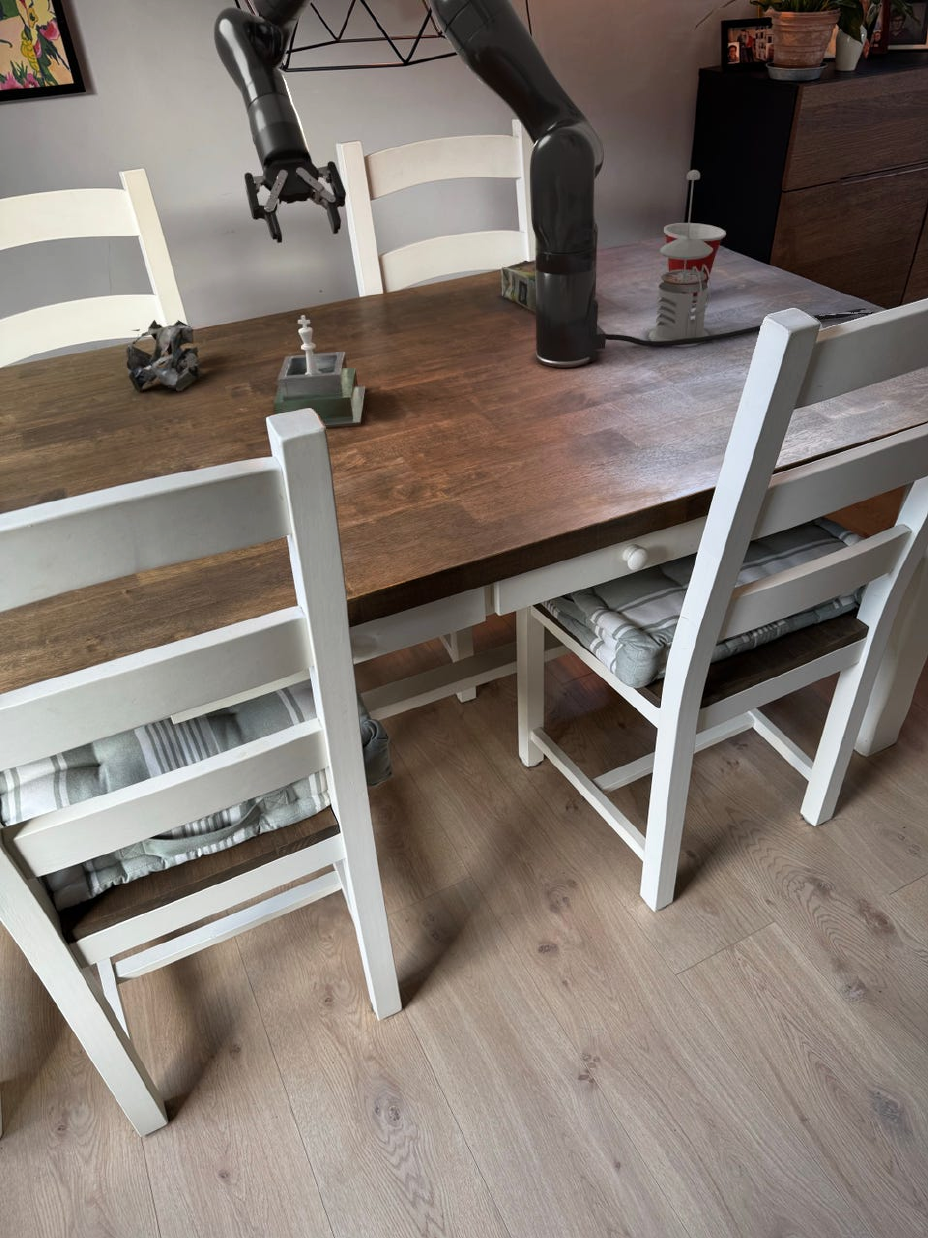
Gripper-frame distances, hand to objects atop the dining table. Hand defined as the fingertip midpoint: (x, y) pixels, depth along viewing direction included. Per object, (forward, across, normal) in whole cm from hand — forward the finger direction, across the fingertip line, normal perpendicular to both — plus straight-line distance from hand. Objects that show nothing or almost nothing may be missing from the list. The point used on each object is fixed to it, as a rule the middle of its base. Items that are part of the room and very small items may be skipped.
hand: (308, 235), depth 127 cm
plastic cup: (+13, +68, +17) cm, 72 cm away
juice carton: (+6, +44, +24) cm, 51 cm away
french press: (+26, +56, +5) cm, 62 cm away
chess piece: (+22, -5, +3) cm, 23 cm away
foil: (+7, -25, +23) cm, 34 cm away
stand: (+25, -5, +5) cm, 26 cm away
